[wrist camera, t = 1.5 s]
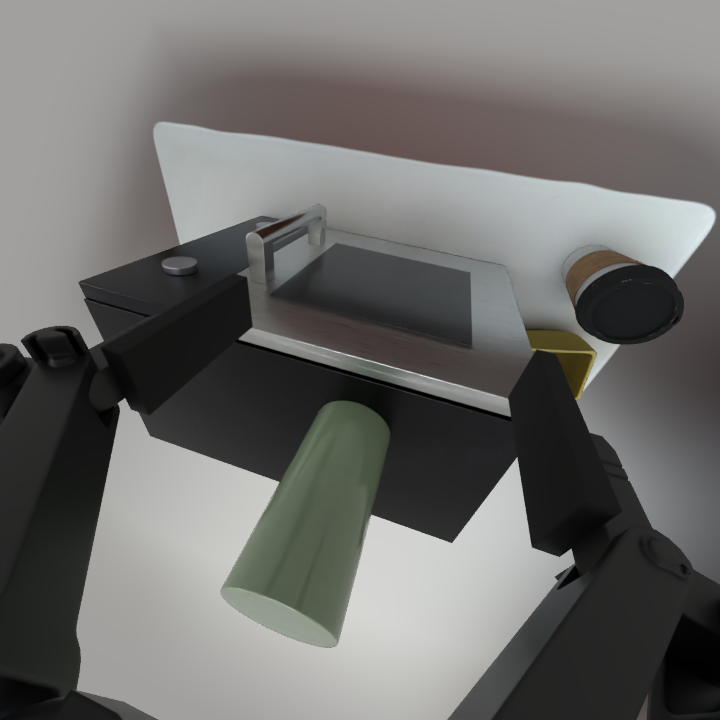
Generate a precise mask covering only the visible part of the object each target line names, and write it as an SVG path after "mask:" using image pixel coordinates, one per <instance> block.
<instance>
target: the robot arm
mask: <svg viewBox="0 0 720 720" xmlns="http://www.w3.org/2000/svg"><path fill="white" fill-rule="evenodd" d="M252 327H253V324H252V315H251V307H250V298H249V289H248V280H247V277H245V276H241V275H237V274H233V273H232V274H231V275H229V276H227V277H225V278H224V279H222V280H220V281H218V282H216V283H215V284H213V285H211V286H209V287H207V288H206V289H204V290H202V291H200V292H198V293H197V294H195V295H193V296H191V297H190V298H188V299H186V300H184V301H182V302H181V303H179V304H177V305H175V306H173V307H172V308H170V309H168V310H166V311H164V312H163V313H160V314H157V315H154V316H151V317H147V318H145V319H144V320H142V321H140V322H138V323H136V324H135V326H134V325H133V326H131V327H129V328H127V329H126V330H125V331H122V332H120V333H118V334H116V335H114V336H113V337H111V338H109V339H107V340H105V341H103V342H102V343H100V344H98V345H96V346H94V347H92V348H91V349H88V347H87V346H86V344H85V342H84V340H83V338H82V336H81V334H80V332H79V331H78V330H77V329H76V328H74V327H69V326H54V327H48V328H44V329H40V330H38V331H34V332H32V333H31V334H28V335H26V336H25V337H24V338H23V339H22V340H21V342H22V343H23V345H24V346H25V348H26V349H27V351H28V352H29V354H30V355H31V357H32V358H27V357H24V356H23V355H22V354H21V352H20V351H19V349H18V348H17V347H16V346H14V345H12V344H3V343H2V344H0V720H157V719H156V718H154V717H152V716H150V715H148V714H146V713H144V712H142V711H140V710H138V709H136V708H134V707H132V706H130V705H129V704H127V703H125V702H122V701H118V700H114V699H109V698H106V697H101V696H97V695H93V694H89V693H85V692H81V691H77V690H76V689H77V683H78V678H79V671H80V663H81V656H80V647H79V643H78V639H77V635H76V626H77V620H78V615H79V610H80V605H81V600H82V595H83V590H84V585H85V580H86V575H87V571H88V565H89V561H90V556H91V551H92V546H93V541H94V536H95V531H96V526H97V521H98V516H99V512H100V507H101V502H102V497H103V492H104V487H105V482H106V477H107V472H108V468H109V462H110V458H111V453H112V448H113V443H114V438H115V433H116V428H117V423H118V419H119V414H120V410H119V409H120V408H119V406H118V404H117V403H119V402H120V401H121V400H123V399H124V398H126V400H127V402H128V404H129V406H130V408H131V409H132V410H134V411H137V412H140V413H143V414H146V415H151V414H152V413H153V412H154V411H155V410H156V409H158V408H159V407H160V406H161V405H162V404H163V403H165V402H166V401H167V400H168V399H169V398H170V397H172V396H173V395H174V394H175V393H176V392H177V391H178V390H180V389H181V388H182V387H183V386H184V385H185V384H187V383H188V382H189V381H190V380H191V379H192V378H194V377H195V376H196V375H197V374H198V373H199V372H201V371H202V370H203V369H204V368H205V367H206V366H208V365H209V364H210V363H211V362H212V361H213V360H215V359H216V358H217V357H218V356H219V355H220V354H222V353H223V352H224V351H225V350H226V349H227V348H229V347H230V346H231V345H232V344H233V343H234V342H235V341H237V340H238V339H239V338H240V337H241V336H242V335H244V334H245V333H246V332H247V331H248V330H249V329H251V328H252ZM508 401H509V407H510V413H511V420H512V426H513V432H514V438H515V445H516V451H517V457H518V463H519V469H520V475H521V482H522V488H523V494H524V501H525V507H526V513H527V520H528V525H529V532H530V538H531V544H532V547H533V548H535V549H538V550H541V551H544V552H547V553H550V554H553V555H556V556H559V557H560V556H561V555H563V554H564V553H566V552H567V551H568V550H570V549H571V548H572V551H573V556H574V560H575V564H574V565H572V566H571V567H569V568H567V569H566V570H564V571H563V572H561V573H560V574H558V575H557V576H555V578H556V579H557V580H558V582H557V583H556V584H555V586H554V587H553V588H552V589H551V591H550V592H549V593H548V594H547V596H546V597H545V598H544V599H543V601H542V602H541V603H540V604H539V606H538V607H537V608H536V609H535V611H534V612H533V613H532V614H531V616H530V617H529V618H528V620H527V621H526V622H525V623H524V625H523V626H522V627H521V628H520V629H519V631H518V632H517V633H516V634H515V636H514V637H513V638H512V639H511V641H510V642H509V643H508V645H507V646H506V647H505V648H504V650H503V651H502V652H501V653H500V654H499V656H498V657H497V658H496V659H495V661H494V662H493V663H492V664H491V666H490V667H489V668H488V669H487V671H486V672H485V673H484V675H483V676H482V677H481V678H480V680H479V681H478V682H477V683H476V685H475V686H474V687H473V688H472V690H471V691H470V692H469V693H468V695H467V696H466V697H465V698H464V700H463V701H462V702H461V703H460V705H459V706H458V707H457V709H456V710H455V711H454V712H453V713H452V715H451V716H450V717H449V718H448V720H636V719H637V717H638V715H639V712H640V710H641V708H642V705H643V703H644V701H645V698H646V696H647V694H648V708H647V720H720V585H719V584H718V583H716V582H714V581H712V580H711V579H709V578H707V577H705V576H704V575H702V574H700V573H699V572H697V571H695V570H693V568H692V565H691V563H690V561H689V560H688V559H687V557H686V556H685V555H684V553H683V552H682V551H681V549H679V548H678V547H677V546H676V545H675V544H674V543H673V542H672V541H671V540H670V539H669V538H667V537H665V536H664V535H663V534H661V533H660V532H658V531H657V530H654V529H653V528H652V527H651V524H650V523H649V520H648V518H647V516H646V514H645V512H644V510H643V508H642V506H641V504H640V502H639V499H638V497H637V495H636V493H635V491H634V489H633V487H632V485H631V483H630V481H628V476H627V474H626V472H625V470H624V469H622V464H621V462H620V460H619V458H618V456H617V454H616V451H615V450H614V449H613V448H612V447H611V446H610V445H609V443H608V442H607V441H606V440H605V439H604V438H603V437H602V436H599V435H595V434H592V433H589V431H588V428H587V426H586V423H585V421H584V419H583V416H582V414H581V412H580V409H579V407H578V405H577V402H576V400H575V397H574V395H573V393H572V390H571V388H570V385H569V383H568V381H567V378H566V376H565V374H564V371H563V369H562V366H561V364H560V362H559V359H558V357H557V355H556V354H554V353H550V352H546V351H542V350H538V349H536V351H535V353H534V354H533V356H532V358H531V359H530V361H529V363H528V364H527V366H526V368H525V369H524V371H523V373H522V374H521V376H520V378H519V379H518V381H517V383H516V384H515V386H514V388H513V389H512V391H511V393H510V394H509V396H508Z"/></svg>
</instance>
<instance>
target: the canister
mask: <svg viewBox="0 0 720 720" xmlns="http://www.w3.org/2000/svg"><path fill="white" fill-rule="evenodd" d="M390 438H391V435H390V430H389V427H388V425H387V424H386V422H385V421H384V419H383V418H382V417H381V416H380V415H379V414H377V413H376V412H375V411H373V410H372V409H370V408H369V407H367V406H364V405H362V404H359V403H356V402H352V401H333V402H330V403H328V404H326V405H324V406H323V407H322V408H321V409H320V410H319V412H318V414H317V415H316V417H315V419H314V421H313V423H312V425H311V426H310V428H309V430H308V432H307V434H306V436H305V437H304V439H303V441H302V443H301V445H300V446H299V448H298V450H297V452H296V454H295V456H294V457H293V459H292V461H291V463H290V465H289V466H288V468H287V470H286V472H285V474H284V476H283V477H282V479H281V481H280V483H279V485H278V486H277V489H276V490H275V492H274V494H273V496H272V497H271V499H270V501H269V503H268V505H267V506H266V509H265V510H264V512H263V514H262V516H261V518H260V519H259V521H258V523H257V525H256V527H255V528H254V530H253V532H252V534H251V536H250V537H249V539H248V541H247V543H246V545H245V547H244V548H243V550H242V552H241V554H240V556H239V557H238V559H237V561H236V563H235V565H234V567H233V568H232V570H231V572H230V574H229V576H228V578H227V579H226V581H225V583H224V585H223V587H222V588H221V595H222V597H223V598H224V599H225V600H226V601H227V602H228V603H229V604H230V605H231V606H232V607H234V608H235V609H236V610H238V611H239V612H241V613H242V614H244V615H245V616H247V617H248V618H250V619H252V620H254V621H256V622H258V623H259V624H261V625H263V626H265V627H267V628H269V629H271V630H273V631H275V632H278V633H280V634H282V635H284V636H287V637H290V638H292V639H295V640H297V641H300V642H303V643H307V644H310V645H314V646H319V647H326V648H331V647H335V646H337V644H338V642H339V638H340V634H341V630H342V626H343V622H344V618H345V614H346V611H347V607H348V603H349V599H350V595H351V591H352V587H353V583H354V580H355V576H356V571H357V568H358V564H359V560H360V556H361V552H362V548H363V544H364V541H365V537H366V533H367V529H368V525H369V521H370V517H371V513H372V510H373V506H374V502H375V498H376V494H377V490H378V486H379V482H380V478H381V475H382V471H383V467H384V463H385V459H386V455H387V451H388V447H389V443H390Z"/></svg>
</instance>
